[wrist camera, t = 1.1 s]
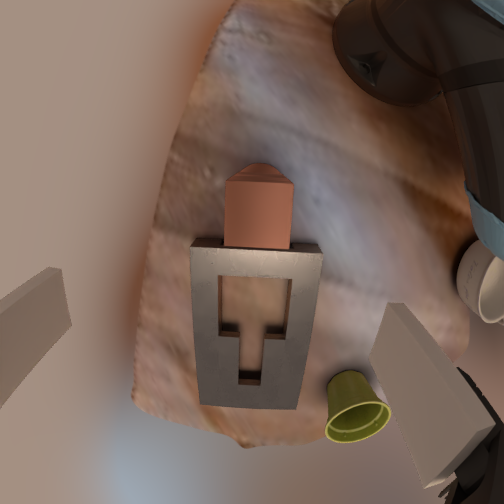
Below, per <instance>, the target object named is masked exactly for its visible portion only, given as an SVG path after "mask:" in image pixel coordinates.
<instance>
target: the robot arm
mask: <svg viewBox="0 0 504 504" xmlns="http://www.w3.org/2000/svg"><path fill="white" fill-rule="evenodd" d="M333 44H334V49H335V52H336V55H337V57H338V59H339V61H340V63H341V65H342V66H343V68H344V70H345V71H346V72H347V74H348V75H349V76H350V77H351V78H352V80H353V81H354V82H355V83H356V84H357V85H358V86H360V87H361V88H362V89H363V90H364V91H366V92H367V93H369V94H370V95H372V96H373V97H375V98H377V99H379V100H381V101H383V102H386V103H389V104H392V105H397V106H415V105H419V104H423V103H427V102H429V101H432V100H433V99H435V98H437V97H438V96H439V95H440V94H441V93H442V92H443V93H444V96H445V99H446V102H447V105H448V109H449V112H450V115H451V119H452V122H453V126H454V130H455V133H456V137H457V141H458V146H459V150H460V154H461V159H462V164H463V169H464V175H465V181H464V188H465V192H466V194H467V196H468V198H469V203H470V209H471V215H472V222H473V227H474V230H475V232H476V234H477V236H478V238H479V240H480V241H481V242H482V243H483V244H484V246H485V247H487V248H488V249H490V251H491V252H492V254H494V255H495V256H496V257H498V258H499V259H501V260H502V261H504V0H350V1H349V2H348V3H347V4H346V5H345V6H344V7H343V8H342V10H341V11H340V13H339V15H338V16H337V18H336V20H335V23H334V26H333ZM71 326H72V324H71V319H70V315H69V310H68V305H67V300H66V294H65V289H64V283H63V277H62V270H61V269H58V268H52V267H48V268H46V269H45V270H43V271H42V272H40V273H39V274H37V275H36V276H34V277H33V278H31V279H30V280H28V281H27V282H25V283H24V284H22V285H21V286H19V287H18V288H17V289H15V290H14V291H12V292H11V293H10V294H8V295H7V296H5V297H4V298H3V299H1V300H0V408H1V407H2V405H3V404H4V403H5V402H6V401H7V399H8V398H9V397H10V396H11V394H12V393H13V392H14V391H15V389H16V388H17V387H18V386H19V385H20V383H21V382H22V381H23V380H24V379H25V377H26V376H27V375H28V374H29V373H30V371H31V370H32V369H33V368H34V367H35V366H36V364H37V363H38V362H39V361H40V360H41V359H42V358H43V356H44V355H45V354H46V353H47V352H48V351H49V350H50V348H52V346H53V345H54V344H55V343H56V342H57V341H58V340H59V339H60V338H61V336H62V335H63V334H64V333H65V332H66V331H67V330H68V329H69V328H70V327H71ZM369 361H370V363H371V365H372V368H373V370H374V372H375V374H376V376H377V378H378V380H379V383H380V385H381V387H382V389H383V391H384V394H385V396H386V398H387V400H388V403H389V405H390V407H391V409H392V412H393V414H394V416H395V418H396V421H397V423H398V426H399V428H400V430H401V433H402V435H403V438H404V440H405V442H406V445H407V447H408V450H409V452H410V455H411V457H412V460H413V462H414V465H415V467H416V470H417V473H418V475H419V478H420V481H421V483H422V486H423V488H427V487H430V486H433V485H436V484H439V483H442V482H444V481H445V480H446V479H447V478H448V477H449V476H450V475H451V474H452V473H453V472H455V474H456V476H457V478H456V479H455V480H454V481H453V482H451V484H450V485H448V486H447V487H446V488H445V489H444V490H443V491H441V493H440V494H439V496H438V497H442V496H443V495H444V494H445V493H447V492H448V491H449V493H448V495H447V496H446V497H445V499H446V501H445V504H504V423H503V422H502V421H501V419H500V418H499V416H498V415H497V413H496V412H495V410H494V409H493V407H492V406H491V405H490V403H489V402H488V400H487V399H486V398H485V396H484V395H483V396H482V392H481V391H480V389H479V388H478V387H476V384H475V383H474V382H473V380H472V379H471V377H470V376H469V375H468V374H466V373H465V372H464V371H462V370H461V369H460V368H459V367H455V366H454V364H453V363H452V361H451V360H450V359H449V358H448V356H447V355H446V354H445V352H444V351H443V350H442V349H441V347H440V346H439V345H438V344H437V342H436V341H435V340H434V339H433V337H432V336H431V335H430V334H429V333H428V331H427V330H426V329H425V328H424V327H423V325H422V324H421V323H420V322H419V321H418V319H417V318H416V317H415V316H414V315H413V313H412V312H411V311H410V310H409V309H408V308H407V306H406V305H405V304H404V303H387V306H386V309H385V312H384V316H383V319H382V322H381V325H380V328H379V331H378V334H377V337H376V340H375V342H374V345H373V348H372V351H371V353H370V356H369Z"/></svg>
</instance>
